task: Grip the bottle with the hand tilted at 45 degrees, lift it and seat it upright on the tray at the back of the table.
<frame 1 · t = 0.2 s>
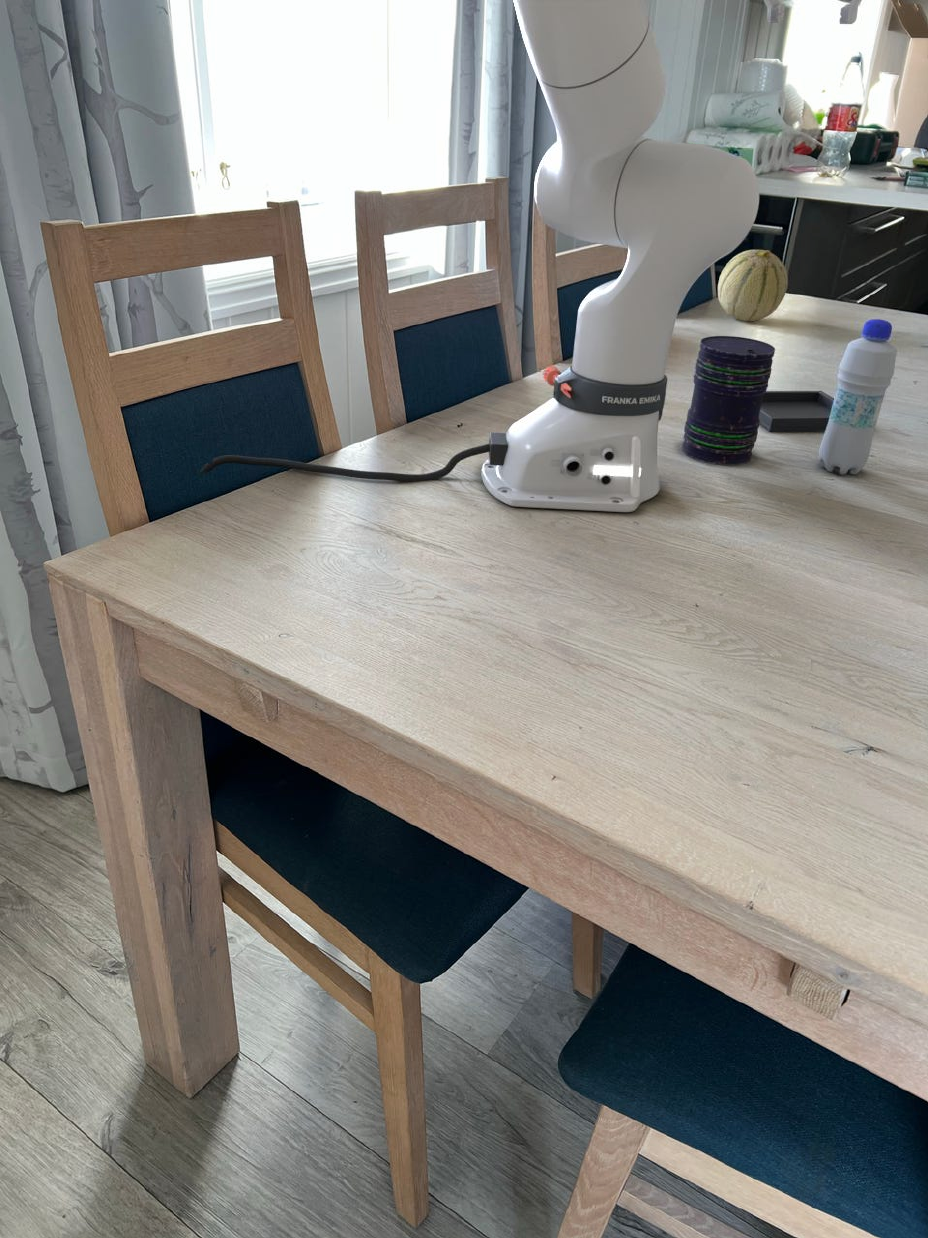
hand: (810, 22, 119), 52 cm above the table, tool tilted 20°, fingers open, 8 cm apart
cantaloupe: (745, 320, 208), on the table
navy striped cylinder: (716, 453, 132), on the table
tray: (794, 416, 148), on the table
bottle: (839, 470, 129), on the table
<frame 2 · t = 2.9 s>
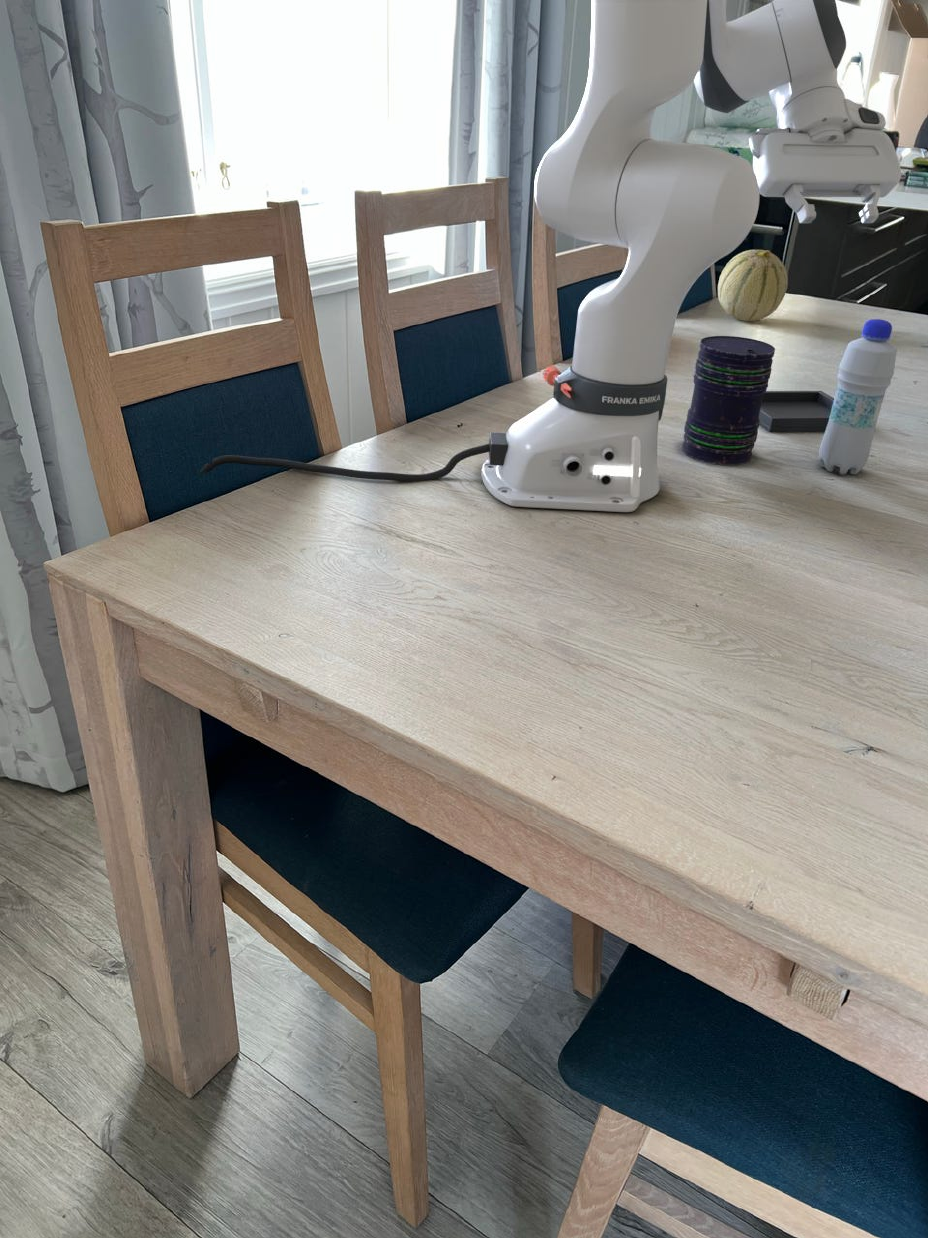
hand: (839, 220, 124), 30 cm above the table, tool tilted 45°, fingers open, 8 cm apart
nothing on the table moved.
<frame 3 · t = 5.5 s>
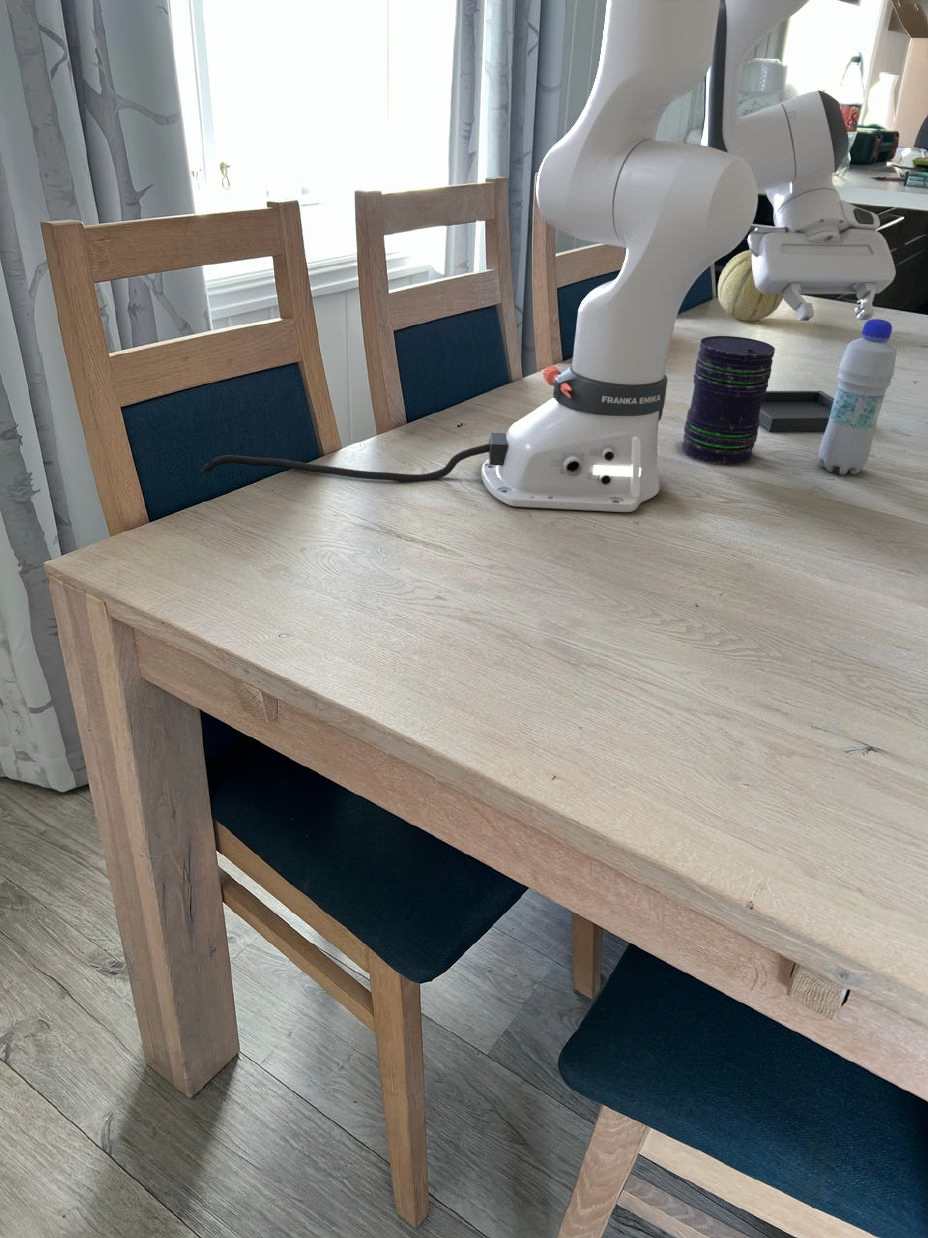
hand: (836, 318, 126), 18 cm above the table, tool tilted 45°, fingers open, 8 cm apart
nothing on the table moved.
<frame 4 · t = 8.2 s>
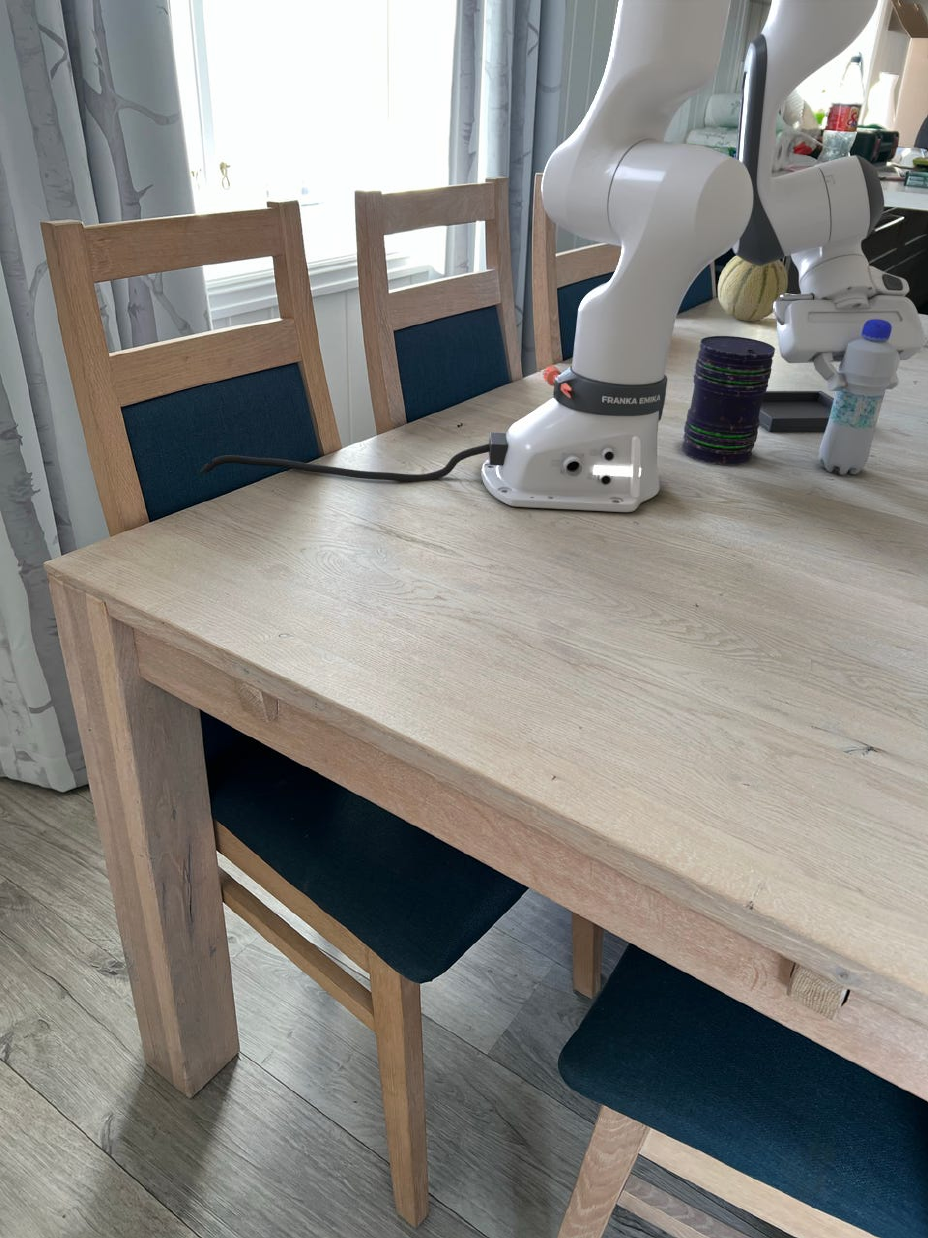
hand: (864, 388, 122), 11 cm above the table, tool tilted 45°, fingers closed on bottle, 6 cm apart
bottle: (839, 470, 129), on the table, touching gripper
everything else where it was.
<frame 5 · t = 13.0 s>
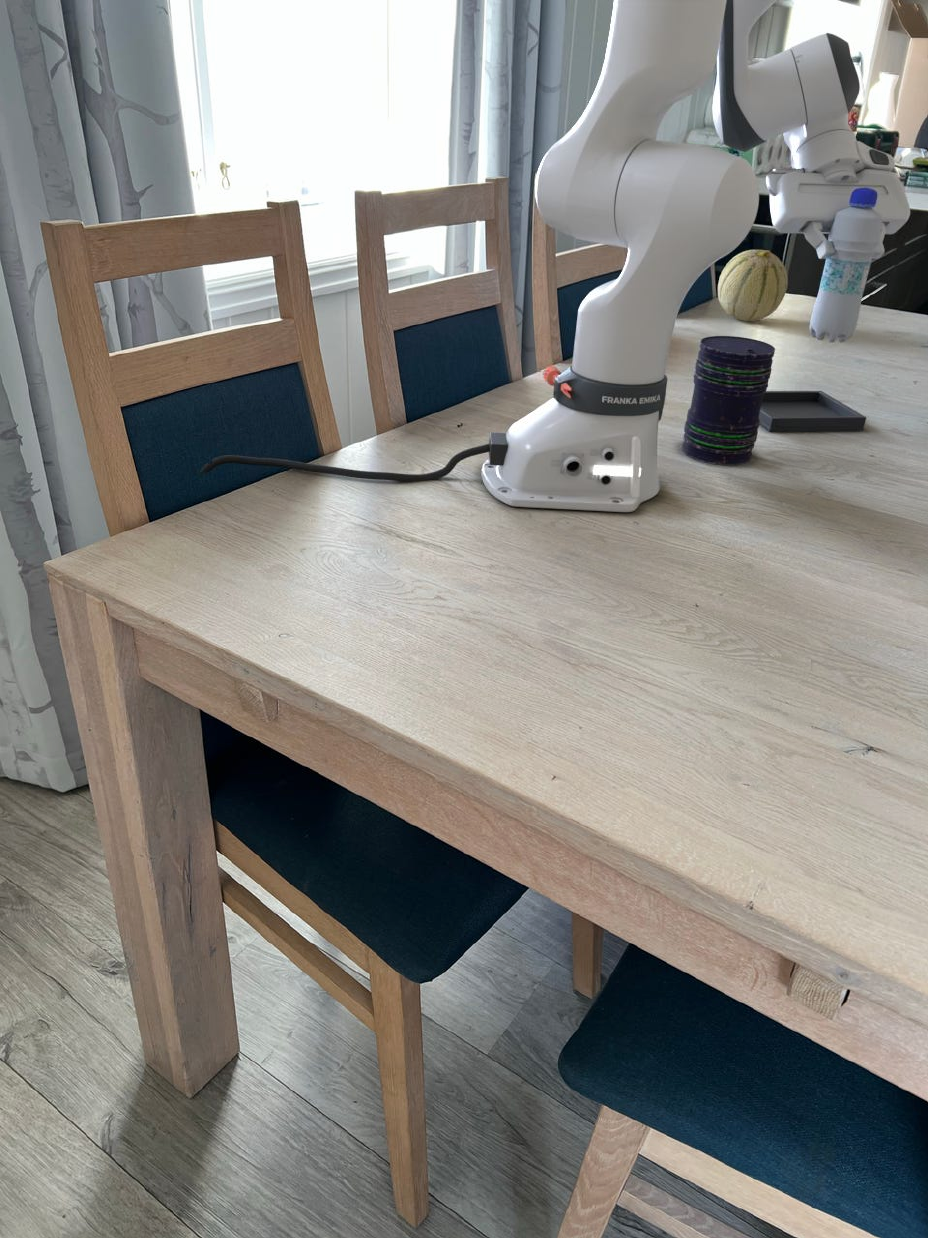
hand: (852, 256, 129), 25 cm above the table, tool tilted 45°, fingers closed on bottle, 6 cm apart
bottle: (829, 340, 136), point 13 cm above the table, touching gripper
everything else where it was.
when the fingers open (12 cm above the table, at t = 18.0 s): bottle stays where it is, resting on tray.
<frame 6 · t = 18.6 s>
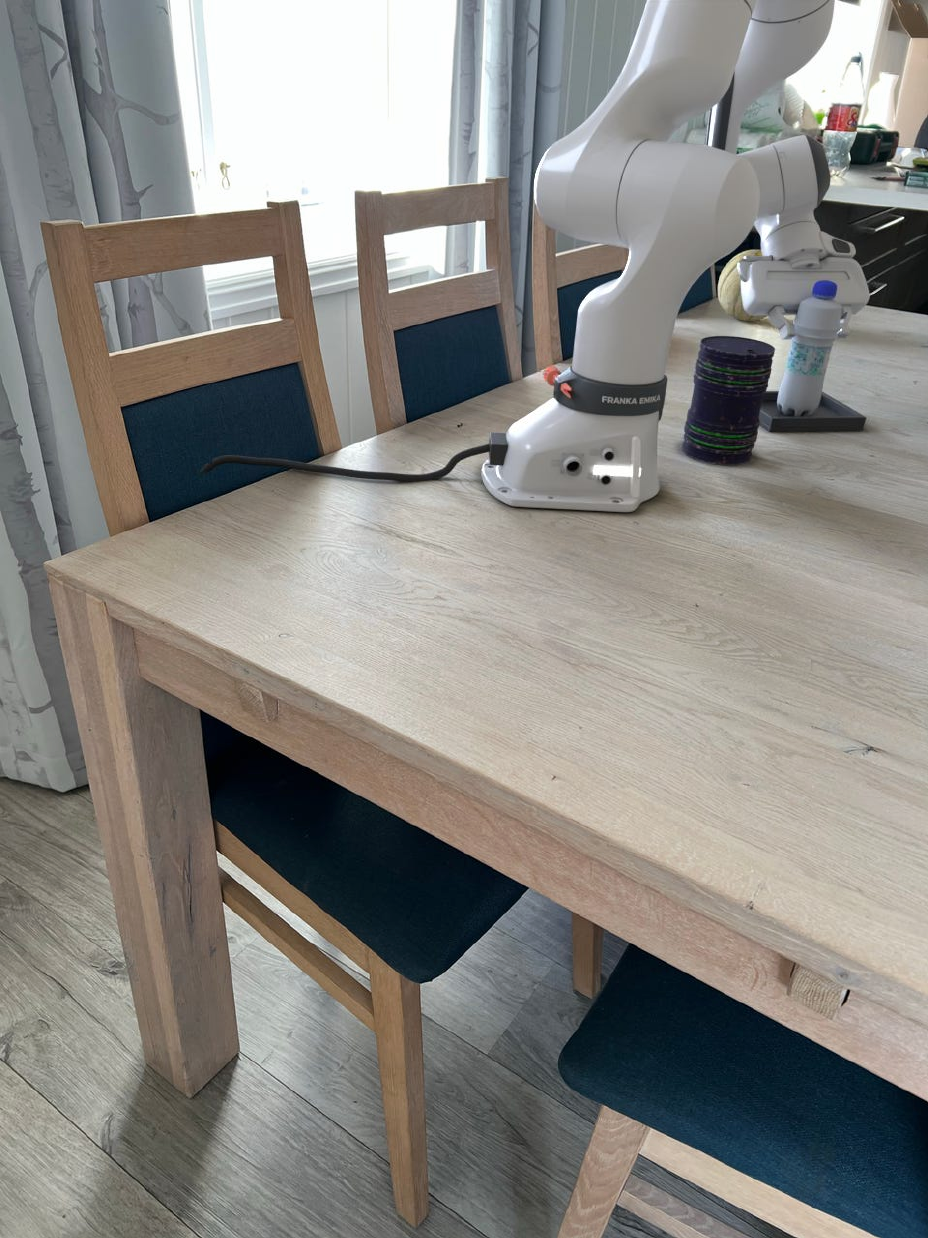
hand: (816, 336, 141), 13 cm above the table, tool tilted 45°, fingers open, 8 cm apart
bottle: (795, 414, 148), resting on tray
everything else where it was.
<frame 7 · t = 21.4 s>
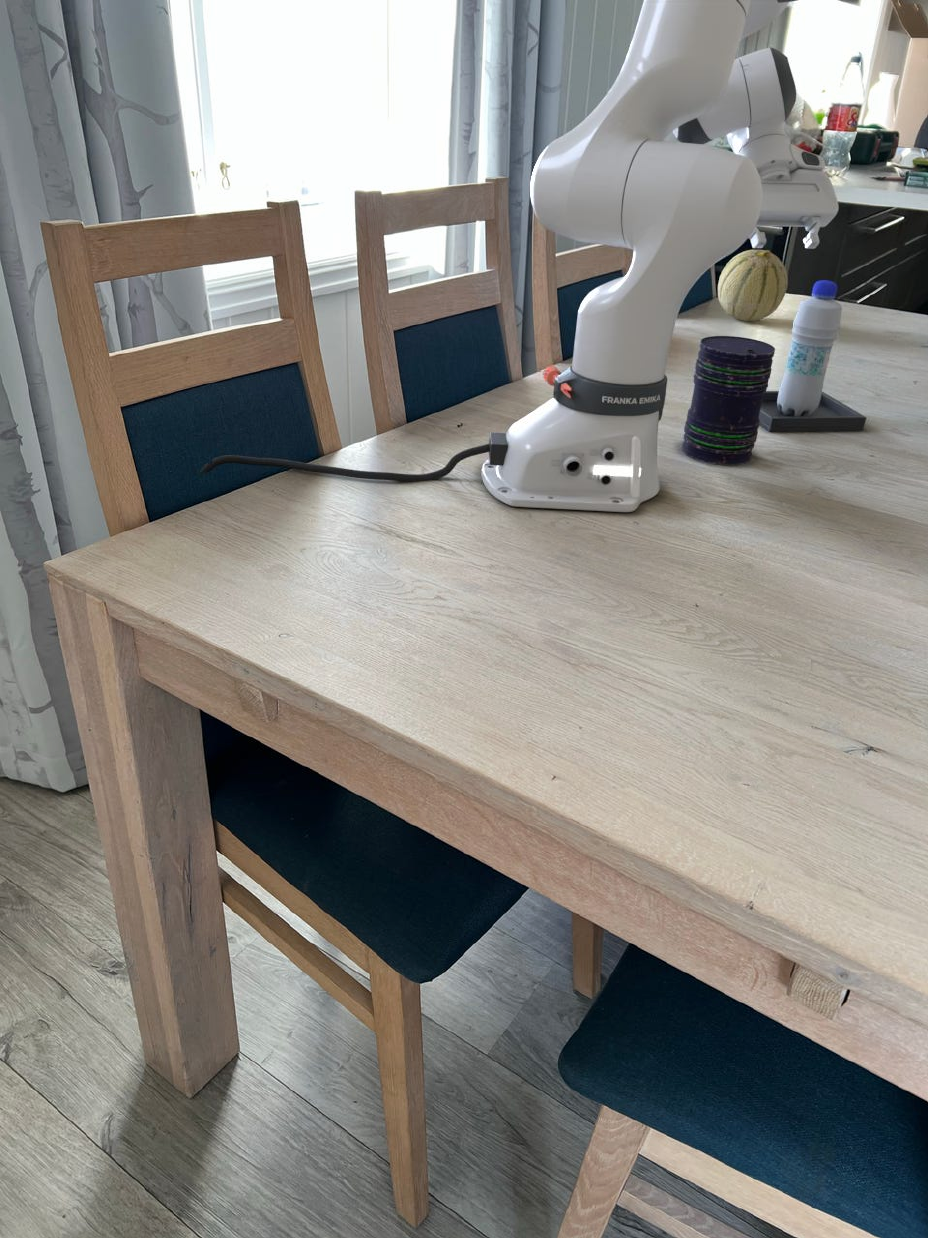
hand: (786, 245, 146), 23 cm above the table, tool tilted 45°, fingers open, 8 cm apart
nothing on the table moved.
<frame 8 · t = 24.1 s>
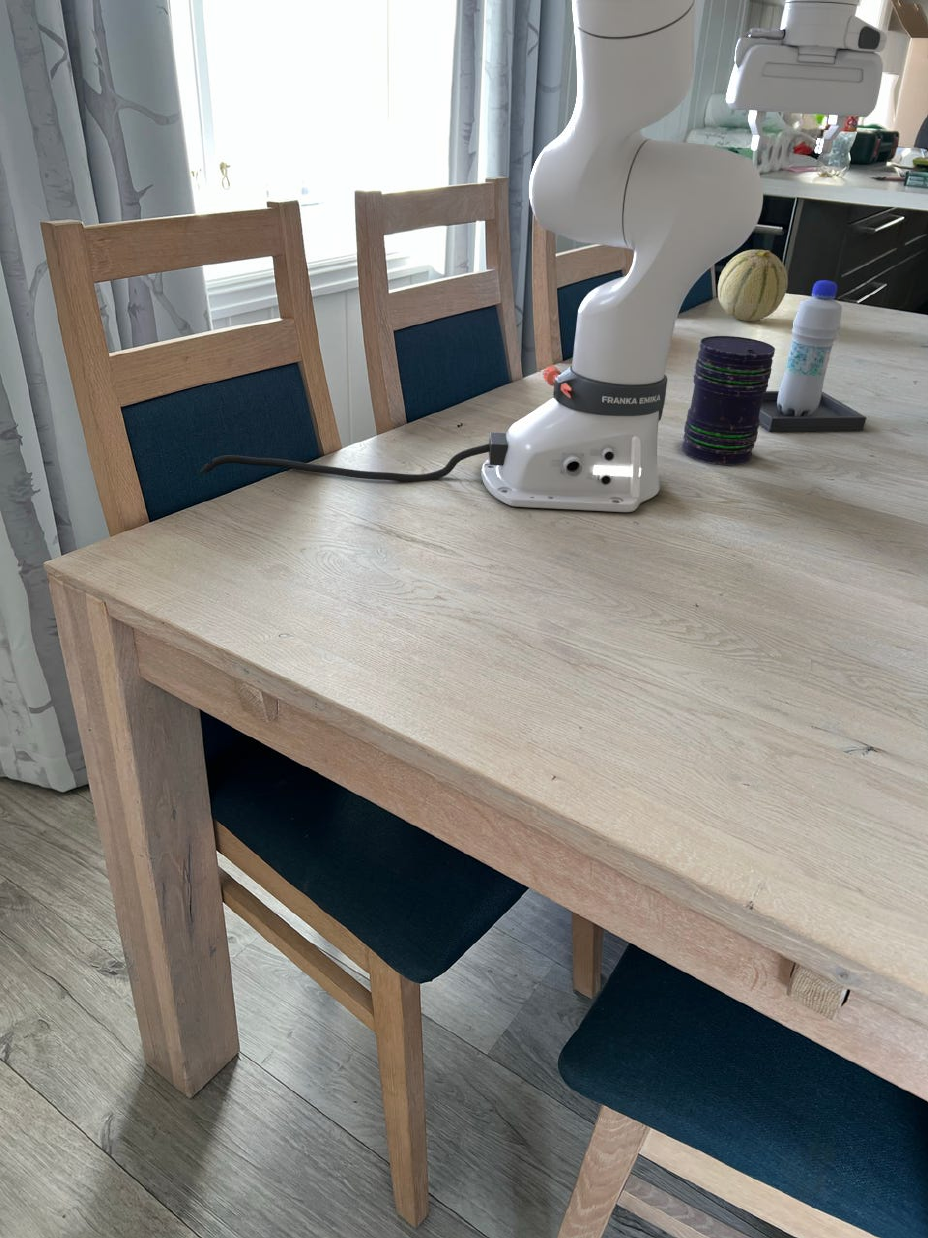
hand: (790, 151, 127), 37 cm above the table, tool pointing down, fingers open, 8 cm apart
nothing on the table moved.
at the end: bottle inside the target area in the tray (0.1 cm from its centre), point 0.4 cm above the tray's base; bottle tilted 0°; the gripper is holding nothing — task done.
